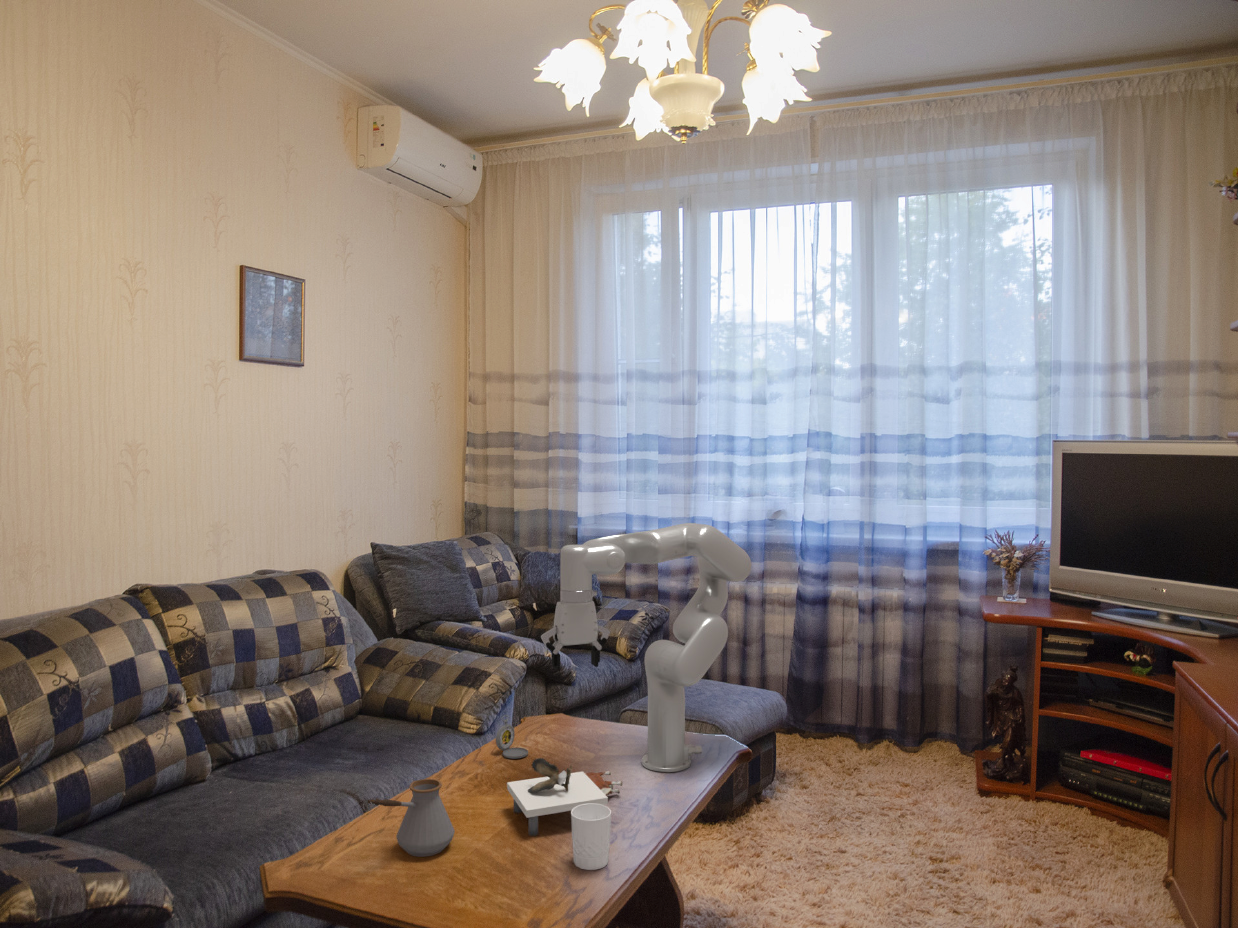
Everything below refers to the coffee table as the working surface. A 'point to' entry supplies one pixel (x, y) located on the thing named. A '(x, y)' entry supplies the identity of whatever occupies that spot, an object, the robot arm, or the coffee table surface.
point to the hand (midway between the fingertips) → (575, 667)
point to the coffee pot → (422, 819)
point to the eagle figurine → (552, 773)
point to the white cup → (591, 835)
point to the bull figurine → (603, 782)
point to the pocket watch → (509, 742)
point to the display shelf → (553, 797)
